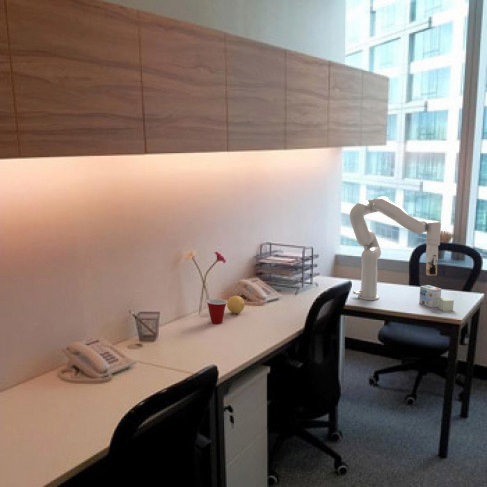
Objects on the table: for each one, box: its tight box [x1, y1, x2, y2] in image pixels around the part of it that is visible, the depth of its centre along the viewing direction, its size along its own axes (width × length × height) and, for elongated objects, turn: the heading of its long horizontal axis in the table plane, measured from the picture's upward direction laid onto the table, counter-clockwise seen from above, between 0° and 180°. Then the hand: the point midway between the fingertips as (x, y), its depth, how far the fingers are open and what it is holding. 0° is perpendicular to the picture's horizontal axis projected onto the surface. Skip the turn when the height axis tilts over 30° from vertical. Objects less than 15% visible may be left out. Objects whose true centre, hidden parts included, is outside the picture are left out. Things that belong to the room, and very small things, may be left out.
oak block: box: [425, 261, 438, 277], centre depth 302 cm, size 5×5×7 cm
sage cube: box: [437, 297, 455, 312], centre depth 297 cm, size 6×6×6 cm
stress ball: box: [226, 295, 246, 315], centre depth 290 cm, size 10×10×10 cm
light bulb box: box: [418, 284, 442, 308], centre depth 305 cm, size 11×7×11 cm, turn 25°
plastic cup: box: [206, 298, 228, 325], centre depth 274 cm, size 11×11×12 cm
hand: (431, 272), depth 302 cm, fingers closed on oak block, 5 cm apart
